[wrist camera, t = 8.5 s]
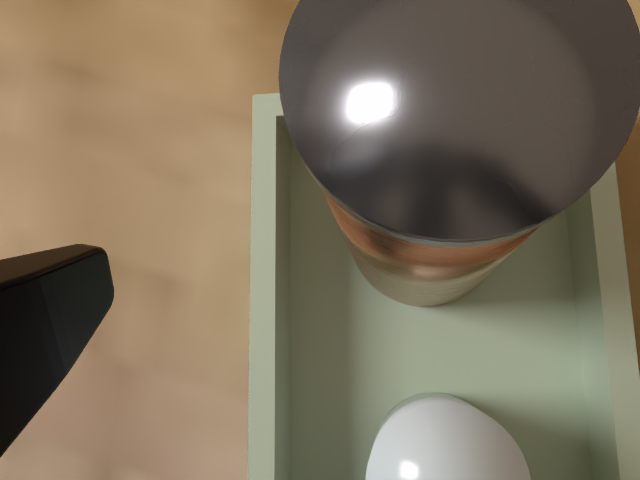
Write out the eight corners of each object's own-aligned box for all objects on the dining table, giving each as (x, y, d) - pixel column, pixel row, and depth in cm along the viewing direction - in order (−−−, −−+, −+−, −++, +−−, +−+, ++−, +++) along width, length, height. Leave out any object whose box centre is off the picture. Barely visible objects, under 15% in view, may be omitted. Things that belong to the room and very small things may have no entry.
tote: (623, 582, 18) (668, 627, 15) (270, 570, 20) (246, 609, 17) (575, 112, 22) (604, 70, 18) (272, 130, 23) (252, 95, 20)
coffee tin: (508, 307, 20) (666, 232, 8) (347, 311, 21) (278, 246, 9) (497, 155, 21) (622, -110, 9) (345, 163, 22) (279, -74, 10)
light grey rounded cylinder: (502, 522, 19) (539, 580, 14) (375, 519, 19) (367, 573, 14) (494, 392, 20) (525, 402, 15) (372, 392, 20) (363, 402, 15)
